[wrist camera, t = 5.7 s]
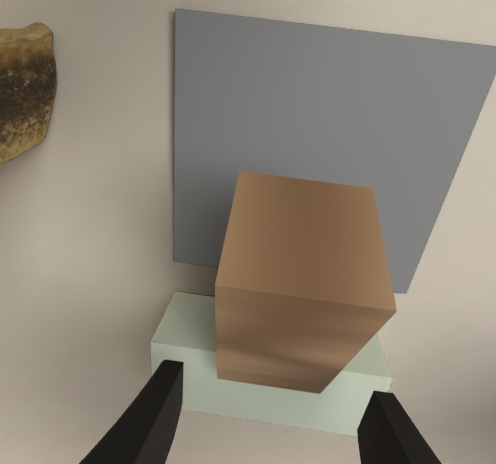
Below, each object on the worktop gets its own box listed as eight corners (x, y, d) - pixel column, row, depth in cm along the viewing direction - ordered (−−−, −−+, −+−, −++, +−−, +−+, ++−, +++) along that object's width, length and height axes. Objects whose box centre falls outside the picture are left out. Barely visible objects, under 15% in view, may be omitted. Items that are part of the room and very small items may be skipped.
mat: (501, 48, 11) (506, 47, 10) (403, 289, 15) (406, 293, 15) (177, 10, 11) (175, 8, 11) (175, 257, 15) (173, 261, 15)
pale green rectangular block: (370, 319, 16) (393, 378, 13) (350, 374, 18) (366, 438, 15) (174, 291, 16) (150, 342, 13) (174, 348, 18) (152, 405, 15)
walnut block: (317, 300, 15) (372, 188, 10) (320, 394, 12) (396, 311, 7) (232, 289, 15) (239, 170, 10) (217, 378, 12) (214, 285, 7)
